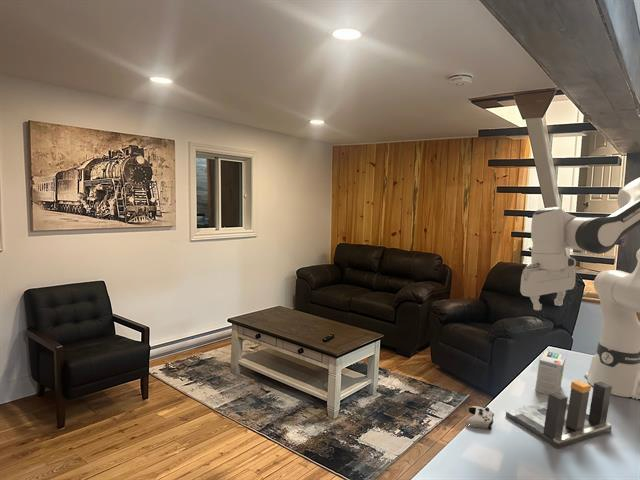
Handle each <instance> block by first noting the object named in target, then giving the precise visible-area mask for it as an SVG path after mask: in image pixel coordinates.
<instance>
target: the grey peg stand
mask: <svg viewBox="0 0 640 480" xmlns="http://www.w3.org/2000/svg"><path fill="white" fill-rule="evenodd" d="M592 387H593V389H592V394H591V399H590V400H591V401H590V406H589V407H590V408H589V414H588V413H586V417H585V423H584V429H582V430H579V431H575V430H573V429H571V428H570V427H568V426H566V419H567V413H568V406H569V403H568V399H569V397H568V396H566V395H564V394H562V393H560V392H559V393H558V392H554V393H550V394H549V395H548V399H547V401H544V402H540V403H535V404H532V405H527V406H523V407H519V408H515V409H511V410H508V411H505V417H506V418H507V419H509V420H510V421H512V422H514V423H515V424H517V425H519V426H520V427H522V428H524V429H525V430H526V431H528V432H530V433H531V434H533V435H534V436H536V437H538V438H539V439H541V440H542V441H544V442H546V443H547V444H549V445H550V446H552V447H553V448H555V449H557V450H560V449H563V448H566V447H570V446H572V445H576V444H579V443H581V442H585V441H588V440H591V439H595V438H597V437H600V436H603V435H606V434H607V435H608V434H610V433H611V432H612V429H613V424H611V423H610V422H608V421H607V419H608V412H609V408H610V407H609V406H610V401H611V397H612V396H611V395H612V394H611V390H612V386H610V385H608V384H605V383H603V382H597V383H594V386H592Z"/></svg>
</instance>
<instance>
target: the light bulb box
mask: <svg viewBox="0 0 640 480" xmlns="http://www.w3.org/2000/svg"><path fill="white" fill-rule="evenodd" d="M565 362H566V355H565V354H559V353H556V352H553V351H552V352H550V351H548V350H543V352H542V355H541V357H540V359H539V362H538V366H537V367H538V368H537V374H536V375H537V376H536V381H535V382H536V383H535V389H534V391H536V392H537V393H542V394H545V395H548V396H549V394H550V393H554V392H558V393H560V389H561V387H562V382H563V374H564V368H565Z"/></svg>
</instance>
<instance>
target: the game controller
mask: <svg viewBox="0 0 640 480" xmlns="http://www.w3.org/2000/svg"><path fill="white" fill-rule="evenodd" d="M468 412H469V413H470V414H471V415H472V416H470V417H469V418H468V419H466V420H465V425H466V426H467V427H468V428H484V429H485V430H492V425H493V424H494V416H495V413H494V412H493V411H492V410H490V408H489V407H487V406H486V407H485V408H484V407H481V406H477V405H471V406H470V407H469V408H468ZM469 424H470V425H469ZM468 425H469V426H468Z"/></svg>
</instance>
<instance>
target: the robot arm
mask: <svg viewBox="0 0 640 480" xmlns="http://www.w3.org/2000/svg"><path fill="white" fill-rule="evenodd" d="M616 202H617V204H618V207H619V208H620V209H618V210H617V211H615V212H614V213H612V214H610V215H609V216H604V217H603V216H601V217H600V216H599V217H582V216H579V217H577V216H576V215H572V214H570V213H568V212H566V211H565V210H564V209H562V207H560V206H549V207H544V208H540V209H538V210H536V211H534V213H533V215H532V218H531V227H530V229H531V230H530V235H531V236H530V240H531V241H532V248H531V251H530V253H531V261H530V262H531V263H530V264H526V265H525V267H524V269H523V270H522V274H521V276H520V277H521V279H520V288H519V292H520V294H521V295H522V297H523V296H524V297H529V299H530V301H531V303H532V305H533V308H532V309H533V310H535V311H541V310H543V309H542V307H543V304H542V303H540V301H539V300H540V296H543V295H549V294H554V293H555V294H557V295H556V297H555V298H554V299H553V300H554V306H558V307H559V306H563V304H564V299H565V296H566V294H567V293H566V291H568V290H573V289H574V287H575V285H576V269H575V266H576V265H577V261H576V258H573V257H570V256H567V255H566V254H565V253H566V252H565V251H566V249H570V250H576V251H584V252H588V253H592V254H596V255H597V254H598V255H600V254H606V253H607V252H610V251H612V249H613V248H614V247H615V246H616V245H617V244H618V242H620V240H621V239H622V238H623V237H624V236H626V235H627V234H628V233H630V232H631V231H633V230H634V229H635V228H636V227H638V226H640V177H638V178H636V179H634V180H632V181H630V182H629V183H627V184H625V185H624V186H623V187H622V188H620V190H618V193H617V201H616ZM635 257H636V261H637V263H636V266H635V269H634V270H633V271H632V272H631V273H630V272H626V271H623V270H619V269H616V270H615V269H611V270H610V269H606V270H602V271H601V272H599V273H598V274H597V275H596V277H595V278H594V280H593V288H594V290H595V292H596V293H597V296H598V299H599V301H600V303H599V304H600V309H601V315H602V319H601V320H602V321H601V322H602V325H601V331H600V339H599V342H597V345H596V354H594V355H593V356H592V358H591V361H590V365H589V368H588V371H587V372H585V373H584V377H585V378H586V379H587V383H588V384H589V385H591V387H594V383H597V382H603V383H605V384H608V385H610V386H612V390H611V395H614V396H617V397H622V398H629V397H632V398H631V399H634V398H636V399H635V400H638V399H640V320H639V318H638V315H637V313H640V248H639V249H638V250H637V251H636V254H635Z"/></svg>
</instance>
